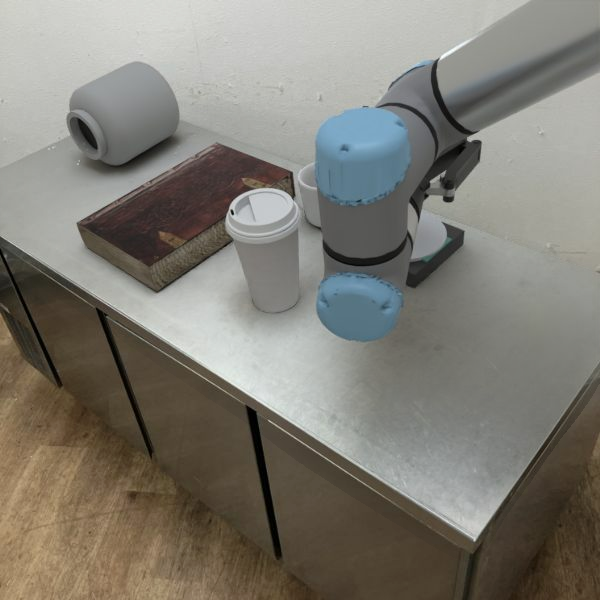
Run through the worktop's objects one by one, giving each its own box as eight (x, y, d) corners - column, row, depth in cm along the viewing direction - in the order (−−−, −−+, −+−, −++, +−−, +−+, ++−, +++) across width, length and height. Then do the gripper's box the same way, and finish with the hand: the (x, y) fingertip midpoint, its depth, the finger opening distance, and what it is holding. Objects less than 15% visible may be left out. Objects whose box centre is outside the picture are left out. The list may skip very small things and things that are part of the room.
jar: (205, 128, 117) (76, 168, 103) (181, 167, 129) (63, 207, 116) (154, 40, 118) (20, 68, 104) (136, 87, 130) (13, 117, 117)
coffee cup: (250, 272, 93) (232, 184, 83) (315, 274, 91) (305, 184, 81) (234, 319, 86) (213, 229, 76) (305, 322, 85) (292, 230, 74)
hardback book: (220, 164, 116) (215, 139, 113) (296, 198, 106) (292, 171, 103) (84, 246, 102) (74, 220, 99) (157, 293, 92) (148, 266, 88)
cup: (376, 209, 102) (375, 164, 96) (362, 239, 96) (360, 194, 91) (311, 201, 105) (307, 157, 100) (294, 230, 100) (289, 185, 94)
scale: (463, 243, 93) (465, 227, 91) (414, 288, 87) (415, 271, 85) (396, 215, 100) (396, 199, 98) (346, 255, 94) (345, 239, 92)
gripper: (280, 237, 73) (324, 139, 88) (495, 255, 67) (502, 147, 82) (271, 180, 68) (320, 87, 83) (503, 194, 62) (509, 91, 77)
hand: (410, 117), depth 83 cm, fingers closed on ice cream bowl, 11 cm apart
